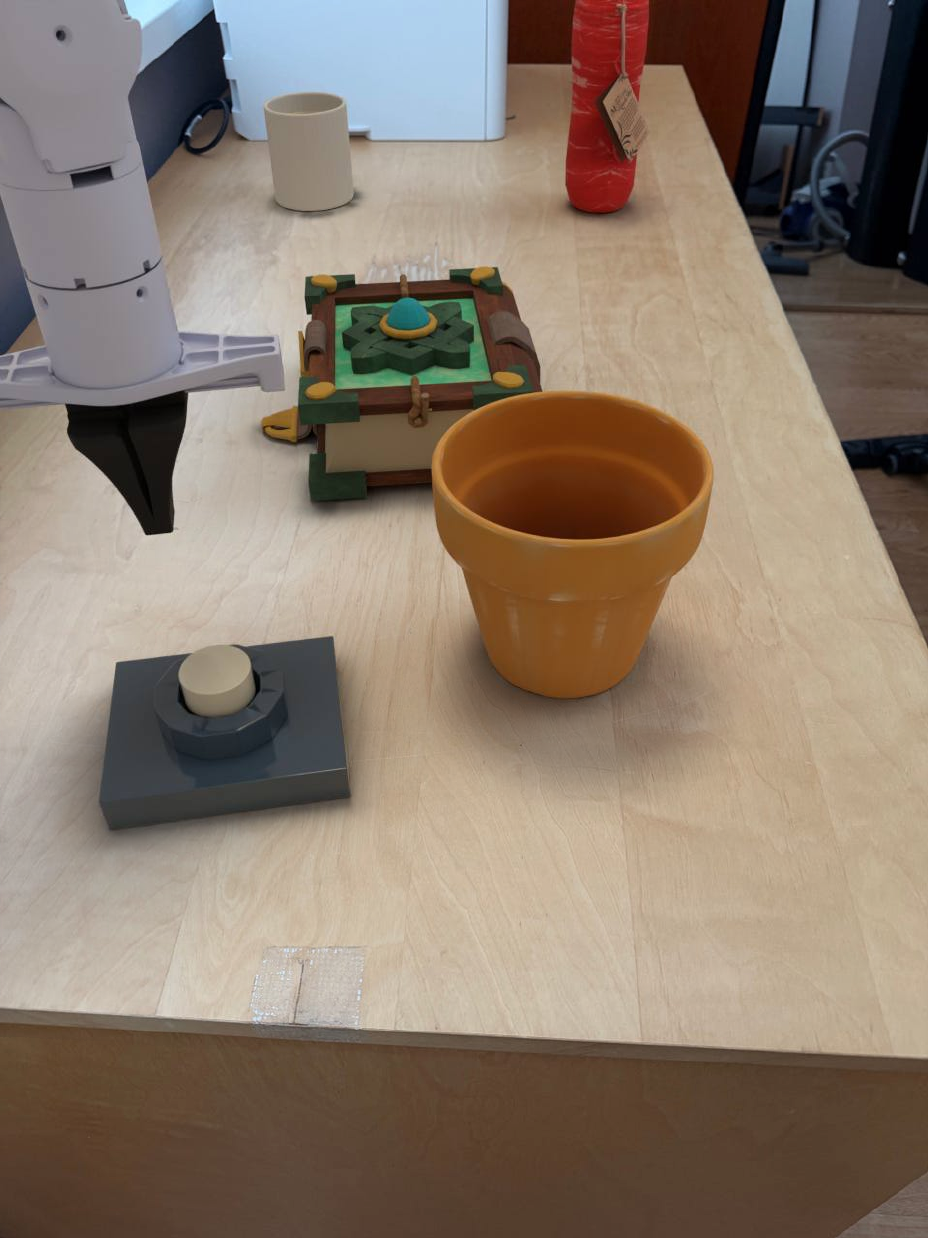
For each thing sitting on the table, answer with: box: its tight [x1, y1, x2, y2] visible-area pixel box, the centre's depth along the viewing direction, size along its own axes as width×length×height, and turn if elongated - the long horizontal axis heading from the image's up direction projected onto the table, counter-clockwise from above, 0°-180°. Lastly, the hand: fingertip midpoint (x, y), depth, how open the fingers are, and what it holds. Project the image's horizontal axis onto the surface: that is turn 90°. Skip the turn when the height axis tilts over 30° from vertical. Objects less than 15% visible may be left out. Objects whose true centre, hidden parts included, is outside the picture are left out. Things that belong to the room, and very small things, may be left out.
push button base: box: [98, 635, 352, 831], centre depth 54 cm, size 12×10×4 cm
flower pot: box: [431, 390, 715, 699], centre depth 57 cm, size 14×14×13 cm
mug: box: [263, 91, 355, 212], centre depth 115 cm, size 11×10×10 cm
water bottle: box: [564, 0, 651, 214], centre depth 106 cm, size 12×8×25 cm, turn 7°
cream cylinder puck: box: [179, 644, 256, 718], centre depth 53 cm, size 4×4×2 cm
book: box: [261, 266, 544, 502], centre depth 79 cm, size 27×21×10 cm
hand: (160, 523), depth 53 cm, fingers closed
